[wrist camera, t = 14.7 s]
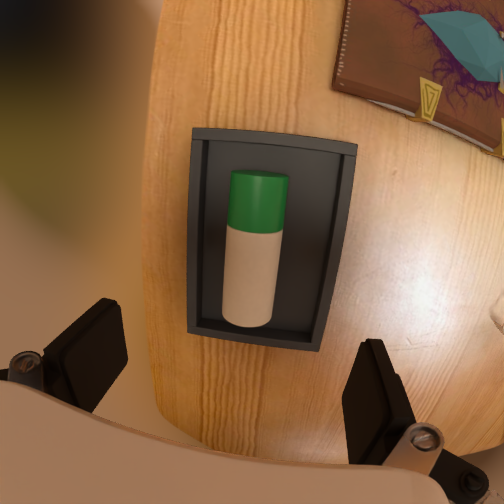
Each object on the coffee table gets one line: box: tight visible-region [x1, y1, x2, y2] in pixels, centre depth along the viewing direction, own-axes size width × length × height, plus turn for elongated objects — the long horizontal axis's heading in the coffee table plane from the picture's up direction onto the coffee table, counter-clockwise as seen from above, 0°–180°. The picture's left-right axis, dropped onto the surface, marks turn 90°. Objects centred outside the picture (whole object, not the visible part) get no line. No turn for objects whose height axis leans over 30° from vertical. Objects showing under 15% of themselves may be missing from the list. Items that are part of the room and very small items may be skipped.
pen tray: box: [187, 128, 358, 352], centre depth 21 cm, size 16×11×2 cm
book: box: [332, 0, 504, 159], centre depth 13 cm, size 16×25×5 cm, turn 80°
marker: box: [222, 170, 289, 327], centre depth 20 cm, size 10×4×4 cm
